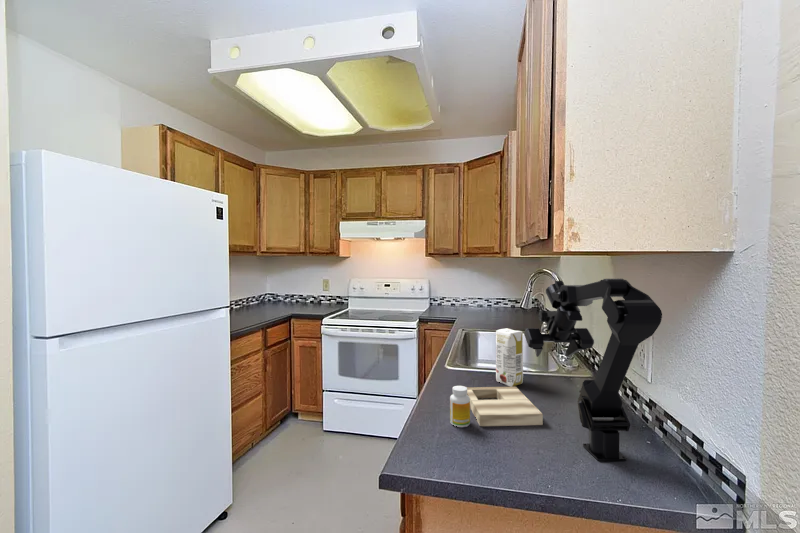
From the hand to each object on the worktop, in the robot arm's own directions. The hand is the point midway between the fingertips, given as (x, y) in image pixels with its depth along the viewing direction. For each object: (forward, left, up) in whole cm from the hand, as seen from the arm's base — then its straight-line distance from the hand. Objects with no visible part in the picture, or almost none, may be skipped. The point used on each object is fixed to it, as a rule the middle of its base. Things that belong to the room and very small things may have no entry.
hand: (551, 355), depth 109 cm
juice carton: (+17, +8, -15) cm, 23 cm away
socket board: (-5, +18, -14) cm, 24 cm away
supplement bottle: (-13, +32, -15) cm, 37 cm away
